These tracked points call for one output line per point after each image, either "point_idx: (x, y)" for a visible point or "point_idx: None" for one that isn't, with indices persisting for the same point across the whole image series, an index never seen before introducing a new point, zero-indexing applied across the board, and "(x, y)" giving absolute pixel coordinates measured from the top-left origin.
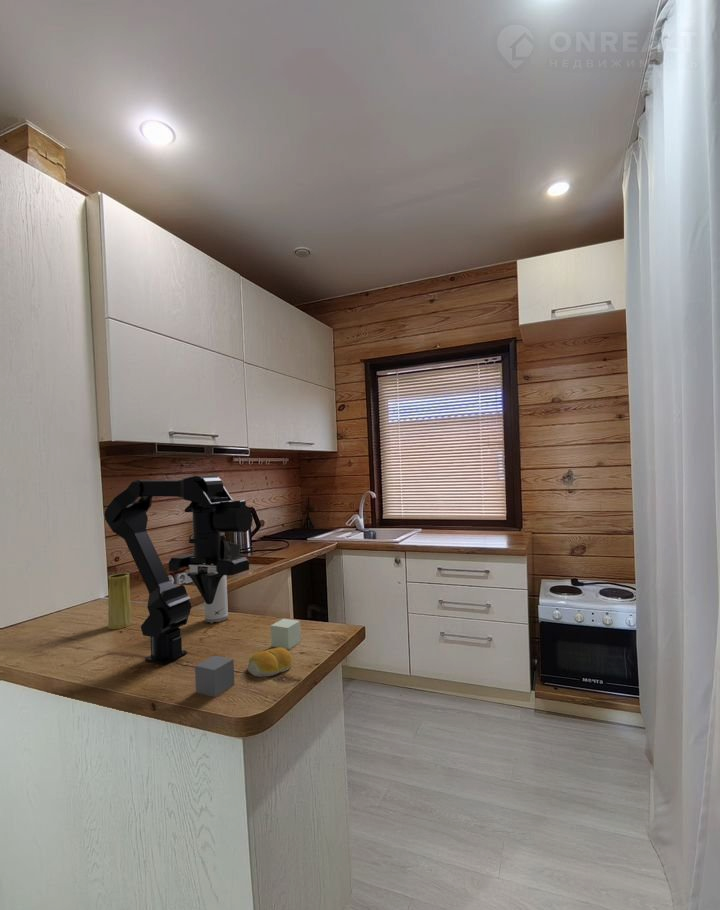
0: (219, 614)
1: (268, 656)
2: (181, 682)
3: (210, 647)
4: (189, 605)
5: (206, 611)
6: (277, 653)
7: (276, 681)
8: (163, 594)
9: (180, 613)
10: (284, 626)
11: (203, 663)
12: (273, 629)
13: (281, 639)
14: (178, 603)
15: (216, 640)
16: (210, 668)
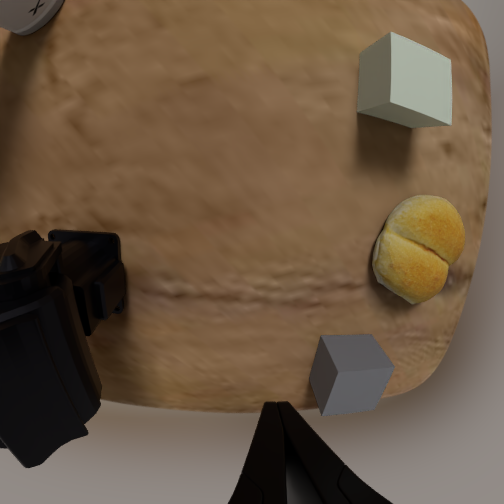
0: (45, 4)
1: (441, 284)
2: (247, 363)
3: (151, 167)
4: (56, 312)
5: (6, 27)
6: (452, 257)
7: (440, 294)
8: (40, 463)
9: (84, 356)
10: (437, 112)
11: (334, 404)
12: (394, 107)
13: (405, 119)
14: (67, 397)
15: (130, 112)
16: (363, 409)
